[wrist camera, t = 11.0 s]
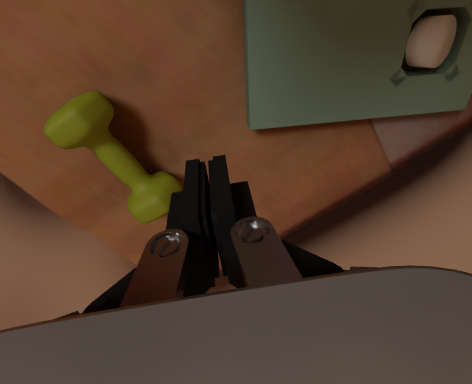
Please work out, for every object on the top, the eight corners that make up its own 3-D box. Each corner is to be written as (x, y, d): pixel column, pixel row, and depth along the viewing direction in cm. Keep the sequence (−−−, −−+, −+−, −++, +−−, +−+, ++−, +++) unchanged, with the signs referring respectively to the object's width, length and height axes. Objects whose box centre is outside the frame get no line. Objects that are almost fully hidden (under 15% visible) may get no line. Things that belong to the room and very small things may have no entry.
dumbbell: (188, 179, 40) (186, 209, 34) (144, 204, 42) (135, 237, 36) (104, 76, 31) (81, 92, 25) (53, 112, 33) (20, 135, 27)
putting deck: (241, -35, 27) (245, -39, 25) (509, -52, 28) (533, -56, 26) (247, 122, 36) (250, 129, 34) (450, 103, 37) (464, 109, 35)
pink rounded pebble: (414, 15, 29) (440, 14, 27) (436, 16, 31) (462, 15, 29) (400, 67, 31) (423, 69, 30) (422, 64, 34) (445, 66, 32)
